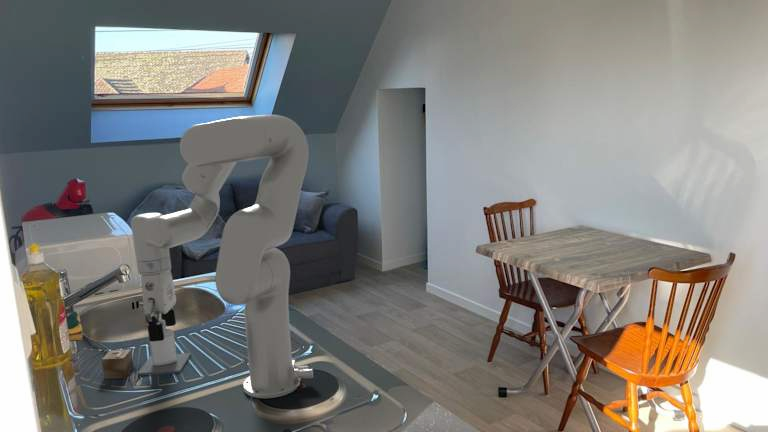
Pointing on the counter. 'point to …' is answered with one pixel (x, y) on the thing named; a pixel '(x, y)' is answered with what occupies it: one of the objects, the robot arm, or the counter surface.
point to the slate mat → (164, 366)
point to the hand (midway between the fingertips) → (163, 332)
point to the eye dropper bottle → (164, 348)
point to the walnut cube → (117, 364)
